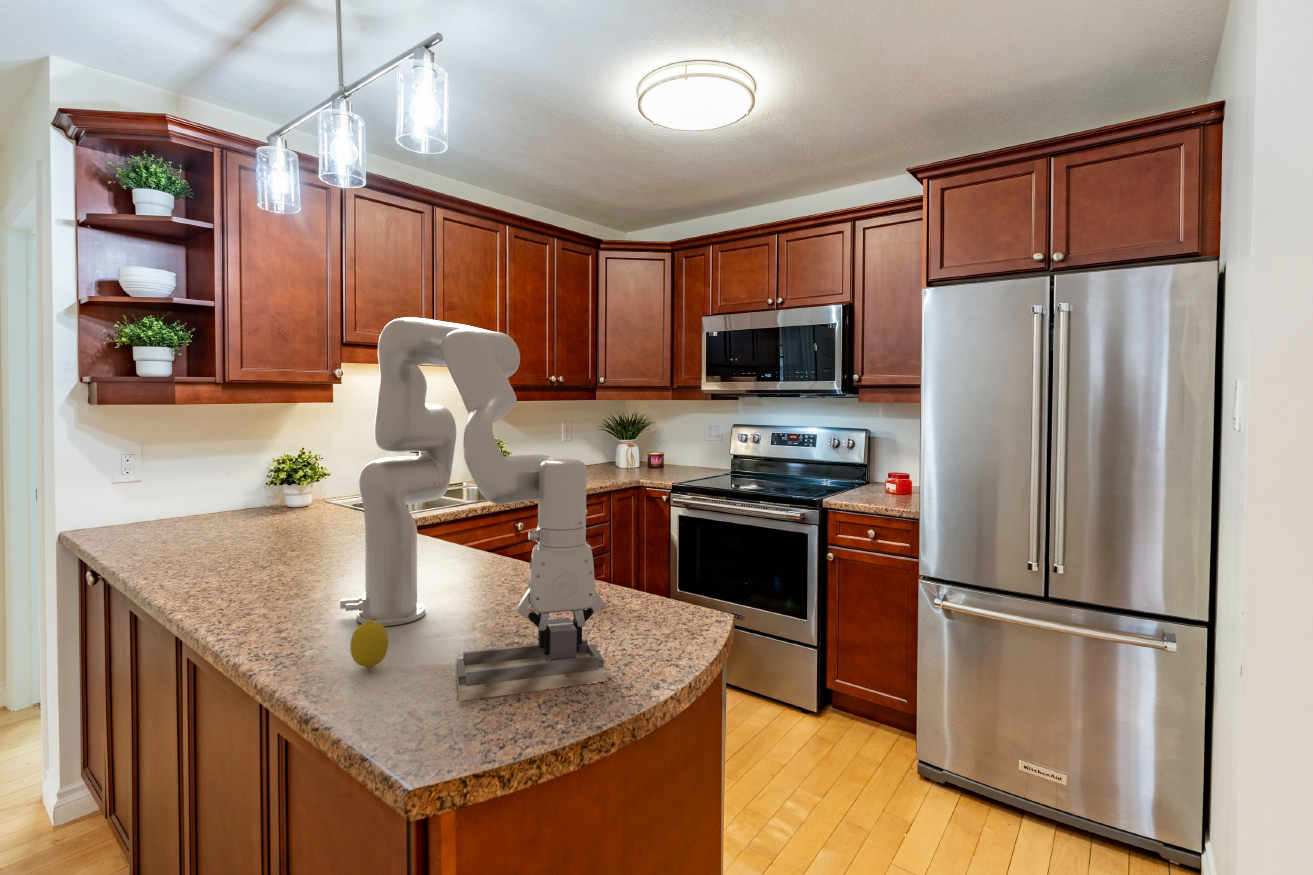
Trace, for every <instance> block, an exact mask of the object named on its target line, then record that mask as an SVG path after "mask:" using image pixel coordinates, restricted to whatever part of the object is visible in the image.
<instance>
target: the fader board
mask: <svg viewBox="0 0 1313 875" xmlns="http://www.w3.org/2000/svg"><path fill="white" fill-rule="evenodd" d="M588 643H589V640H588V638H582V644H579V652H576V658H572V659H563V660H554V661H546V659H545V657H544V652H543V650H542V648H541V649H539V646H538V643H532V644H523V645H521V644H520V645H512V646H502V647H493V648H487V649H486V648H485V649H484V648H483V649H476V650H473V649H472V650H465V651H462V658H457V659H456V661H455V671H456V672H455V673H456V680H457V681H456V684H457V691H458V692H457V693H458V700H459V702H462V701H463V702H464V701H471V700H479V699H484V698H493V697H500V696H501V697H502V696H507V695H509V696H510V695H516V694H524V693H531V692H539V691H547V690H546V689H549V690H555V689H561V687H564V688H569V687H568V686H572V687H576V686H575V685H579V686H583V685H582V684H587V685H589V684H588V683H593V682H601V681H606V680H607V681H608V671H607V669H606V668H605V659H604V657H603V656H602V654H601V653H600V652H599V650H598V649H597V648H596V646H595V644H588Z"/></svg>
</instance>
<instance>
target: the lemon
mask: <svg viewBox="0 0 1313 875" xmlns="http://www.w3.org/2000/svg"><path fill="white" fill-rule="evenodd" d="M349 646H350V647H349V648H350V656H351V658H352V659H353V661H354V663H356V664H357V665H359V666H361V667H364V668H366V670H368V671H369V670H372V669H374V667H375V666H376V665H378V664H379V663H381V662H382V661H383V660H384V659H385V657H386V655H387V653H388V649H389V636H388V631H387V629H386V628H385V626H382V625H381V624H379V623H377V622H374V621H372V620H367V622H365V623H363V624H361V623H360V625H359V626H358V627H356V628H355V630H354V631H353V633H352V637H351V640H350V645H349Z"/></svg>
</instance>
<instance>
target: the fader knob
mask: <svg viewBox="0 0 1313 875" xmlns="http://www.w3.org/2000/svg"><path fill="white" fill-rule="evenodd" d="M547 625H548V629H549V632H550V638H549V654H548V655H544V657H545V659H546V661H554V660H563V659H572V658H576V648H577V629H576V628H575V626H574V625H573V622H572V620H571V619H570V618H569V617H564V618H563V617H562V618H553V619H548V623H547Z"/></svg>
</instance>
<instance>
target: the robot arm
mask: <svg viewBox="0 0 1313 875" xmlns="http://www.w3.org/2000/svg"><path fill="white" fill-rule="evenodd" d="M377 359H378V367H379V385H378V387H379V388H378V395H377V401H376V402H377V404H376V411H375V417H374V431H373V433H374V434H373V435H374V441H375V444H376V446H377V447H378V448H379V449H381V450H383V451H386V452H390V453H407V452H408V453H410V452H411V453H413V452H414V453H415V452H418V455H416V456H414V455H413V456H394V457H393V456H392V457H382V458H378V459H375V460H372V461H370V462H369V463H366V465H365V466H364V467H363V468H362V469H361V472H360V474H359V480H358V482H359V483H358V486H359V491H360V496H361V501H362V506H363V514H364V516H363V517H364V541H365V542H364V547H365V548H364V557H365V558H364V560H365V562H364V566H365V568H364V569H365V571H364V576H365V578H364V580H365V581H364V582H365V584H364V585H365V586H364V587H365V588H364V589H365V590H364V594H363V595H359V596H358V598H340V602H339V604H340V605H339V609H340V610H345V612H350V611H357V610H358V611H357V613H356V621H357V622H358V623H360V625H361V624H363V623H365V622H367V620H372V621H374V622H377V623H379V624H381V625H382V626H383V627H390V626H397V625H404V624H409V623H411V622H414V621H417V620H418V619H421V618H422V617H424V615H425V614H426V607H425V605H424V604H422V603H421V602H420V603H419V602H418V526H417V524H416V521H415V518H414V517H413V515H412V514H411V512H410V511H409V509H408V508H407V507H408V506H407V505H413V504H417V503H424V502H425V503H426V502H432V501H436V500H438V499H442V497H443V496H444V495H445V494H446V493H447V491H448V490H449V489H448V488H449V486H450V482H451V478H452V470H453V463H454V456H455V455H454V454H455V449H456V443H457V442H456V441H457V425H456V421H455V417H454V415H453V414H452V412H451V411H450V410H449V408H447V407H445V406H444V405H440V404H435V403H426V396H427V391H428V385H427V379H426V377H425V373H424V372H423V370H422V368H421V367H420V365H422V366H433V367H445V368H446V369H447V371H448V374H449V376H450V377H451V379H452V381H453V384H454V386H455V388H456V391H457V392H458V394H459V396H460V398H461V401H462V403H463V404H464V406H465V409H466V411H467V413H468V420H467V423H466V424H465V428H464V432H463V441H462V442H463V443H462V444H463V445H462V446H463V450H462V451H463V457H464V458H463V459H464V461H465V463H466V466H467V468H468V471H469V473H470V475H471V478H472V479H473V481H474V484H475V485H476V487H477V490H478V491H479V493H480V494H481V495H482V496H483V497H484V498H485V499H486V500H487V501H489V502H490V503H492V504H495V505H500V506H501V505H510V504H515V503H521V502H530V501H538V502H537V504H538V505H537V526H536V528H535V530H529V531H528V536H527V537H528V540H529V541H535V542H536V543H537V544H535V545H533V548H532V552H531V557H530V562H529V563H530V564H529V571H528V572H529V573H528V574H529V575H528V584H527V590H526V592H525V593H524V594H523V597H522V598H521V599H520V601H519V603H518V604H517V605H516V608H515V609H516V612H517V614H519V615H520V616H523V617H524V618H526V619H528V620H529V621H530V622H531V623H532V624H534V626H536V627H537V628H538V630H537V631H538V632H537V633H538V637H537V638H538V639H537V641H538V643H537V644H538V646H539V649H541V648H542V650H543V652H544V655H548V654H549V638H550V632H549V629H548V625H547V623H548V620H549V618H550V614H551V613H562V612H572V616H573V619H572V620H571V622H573V625H574V626H575V628H576V629H577V648H576V652H579V644H582V639H583V627H584V626H585V624H586V622H587V621H588V620H589V619H590V617H592V615H593V614H594V613H595V612H597V611H598V610H599V609H601V608H602V607H603V606H604V605H605V602H604V600H603V599H602V597H601V596H600V595H599V594H600V593H598V591H597V590H596V584H595V582H596V581H595V567H594V558H593V557H594V556H593V552H592V551H593V550H592V546H591V545H590V544H588V543H586V538H587V537H586V535H587V530H586V528H587V527H586V526H587V482H588V481H587V480H588V479H587V478H588V476H587V475H588V474H587V467H586V464H585V463H584V461H582V460H579V459H573V458H556V457H553V456H550V455H547V454H521V455H520V454H519V455H508V456H504V455H503V453H502V451H501V449H500V447H499V445H498V443H497V441H496V438H495V435H494V431H493V430H494V429H493V425H494V423H496V422H498V421H500V420H502V419H503V418H504V417H506V416H507V415H508V414H510V412H511V411H513V409H514V408H515V406H516V404H517V396H516V393H515V391H514V388H513V387H512V385H511V383H510V381H509V379H508V378H509V377H512V376H513V375H514V374H515V373H516V372H517V371H518V369H519V366H520V361H521V353H520V349H519V347H518V345H517V344H516V342H515V341H514V339H513V338H512V337H511V336H509V335H508V334H507V333H503V332H499V331H492V330H487V329H484V328H480V327H476V326H471V325H467V324H461V323H455V322H448V321H441V320H435V319H429V318H423V317H421V318H420V317H413V316H411V317H400V318H399V317H398V318H395V319H393V320H391V321H389V322H388V323H387V324H385V326H384V327H383V329H382V331H381V333H380V335H379V338H378V343H377ZM529 606H530V608H529Z"/></svg>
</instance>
